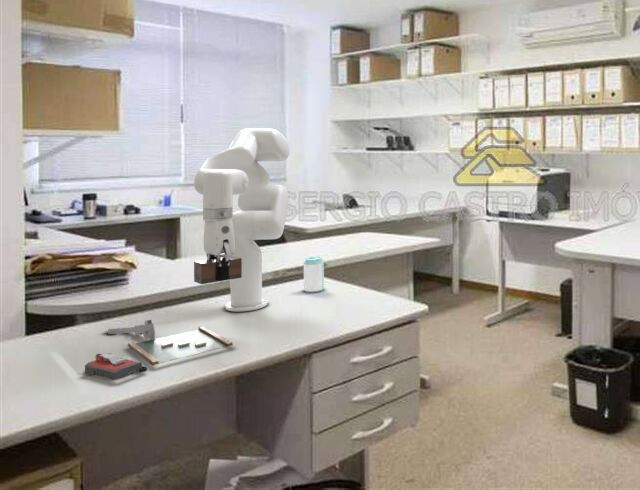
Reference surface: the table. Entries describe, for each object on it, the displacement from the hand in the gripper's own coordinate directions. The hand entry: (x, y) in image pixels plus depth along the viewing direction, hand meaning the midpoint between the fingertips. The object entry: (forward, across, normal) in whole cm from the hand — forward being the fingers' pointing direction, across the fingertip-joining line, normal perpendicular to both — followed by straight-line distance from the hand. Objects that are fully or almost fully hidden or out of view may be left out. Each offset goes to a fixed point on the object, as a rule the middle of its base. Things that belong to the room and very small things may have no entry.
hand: (218, 278), depth 161 cm
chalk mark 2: (+15, -7, +12) cm, 20 cm away
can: (+15, +23, -44) cm, 52 cm away
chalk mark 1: (+15, -4, +14) cm, 21 cm away
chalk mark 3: (+15, -10, +9) cm, 19 cm away
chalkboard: (+16, -6, +12) cm, 21 cm away
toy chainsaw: (+16, -9, +29) cm, 34 cm away
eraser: (0, 0, 0) cm, 0 cm away
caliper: (+16, +15, +18) cm, 28 cm away
